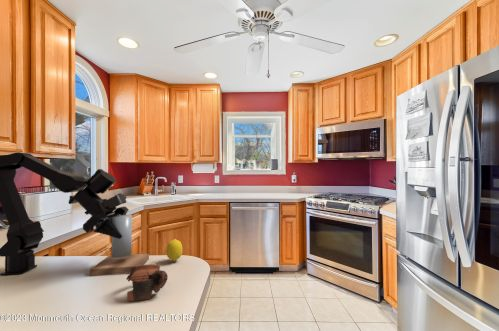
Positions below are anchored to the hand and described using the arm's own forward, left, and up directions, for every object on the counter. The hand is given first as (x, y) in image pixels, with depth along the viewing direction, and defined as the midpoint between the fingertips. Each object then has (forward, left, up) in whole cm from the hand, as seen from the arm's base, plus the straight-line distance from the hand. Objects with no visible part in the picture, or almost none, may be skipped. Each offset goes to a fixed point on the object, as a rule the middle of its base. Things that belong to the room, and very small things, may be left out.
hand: (125, 235), depth 80 cm
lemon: (+16, +2, -11) cm, 19 cm away
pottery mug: (+13, -20, -11) cm, 26 cm away
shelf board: (-1, 0, -11) cm, 11 cm away
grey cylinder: (-1, 0, -7) cm, 7 cm away
